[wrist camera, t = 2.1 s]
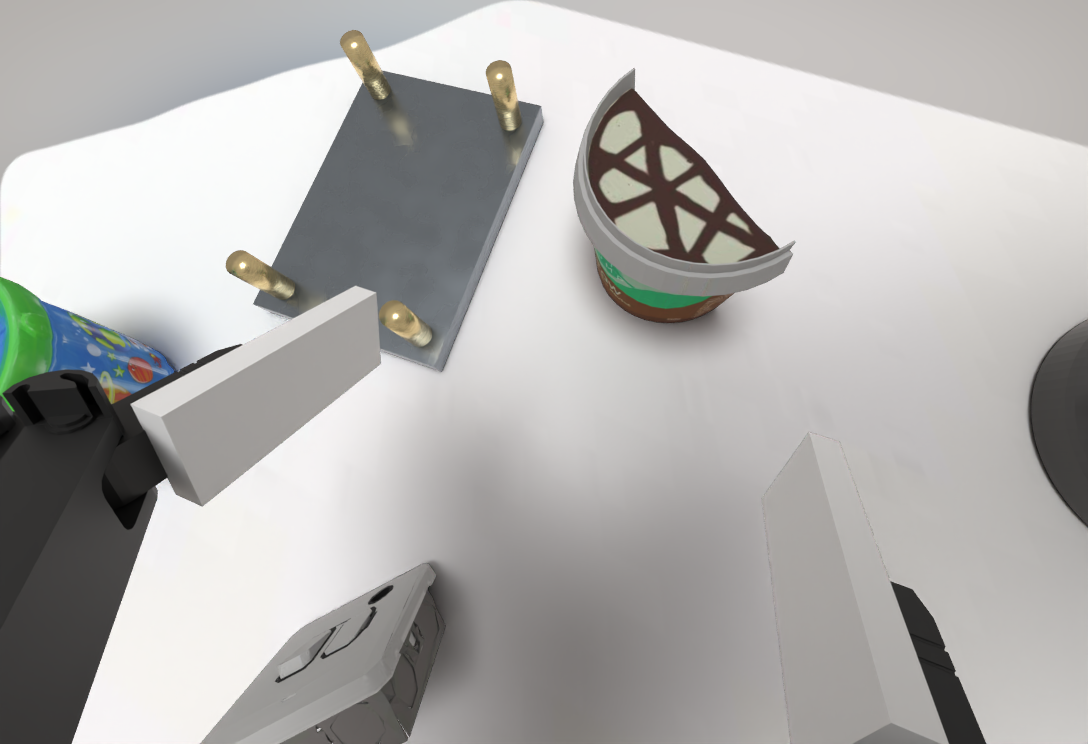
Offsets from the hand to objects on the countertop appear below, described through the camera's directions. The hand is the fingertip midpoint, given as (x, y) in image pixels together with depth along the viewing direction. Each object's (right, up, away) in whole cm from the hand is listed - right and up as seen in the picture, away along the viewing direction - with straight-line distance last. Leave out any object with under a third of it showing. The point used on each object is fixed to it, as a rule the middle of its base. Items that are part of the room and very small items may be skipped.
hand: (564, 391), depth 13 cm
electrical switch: (-10, -15, +13) cm, 22 cm away
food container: (+5, +7, +16) cm, 18 cm away
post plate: (-11, +12, +19) cm, 25 cm away
